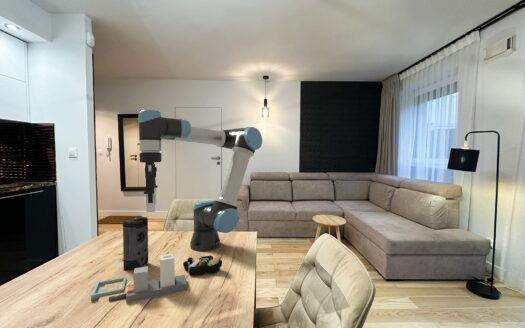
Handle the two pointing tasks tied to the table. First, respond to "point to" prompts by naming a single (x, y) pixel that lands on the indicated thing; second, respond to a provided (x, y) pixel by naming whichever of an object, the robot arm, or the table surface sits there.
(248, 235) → the table surface
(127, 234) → the electronic device
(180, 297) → the table surface
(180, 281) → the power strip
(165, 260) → the charger
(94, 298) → the tray
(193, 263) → the toy
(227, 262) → the table surface
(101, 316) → the table surface
